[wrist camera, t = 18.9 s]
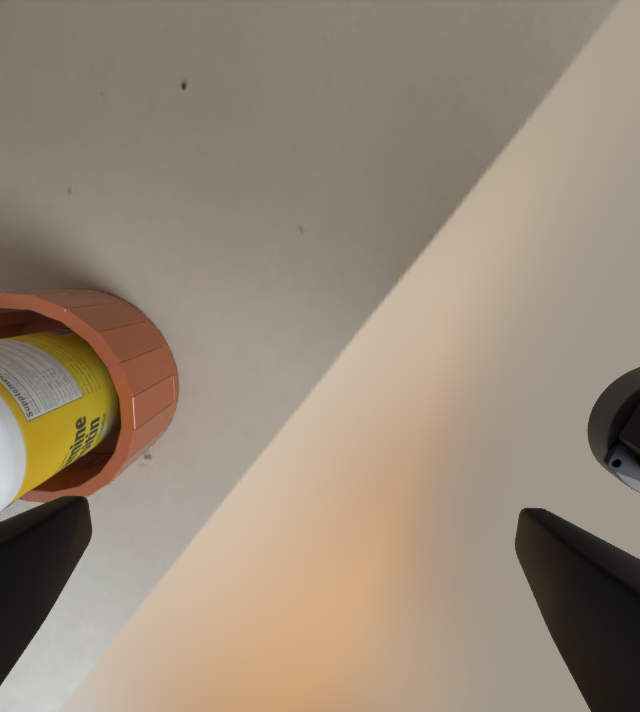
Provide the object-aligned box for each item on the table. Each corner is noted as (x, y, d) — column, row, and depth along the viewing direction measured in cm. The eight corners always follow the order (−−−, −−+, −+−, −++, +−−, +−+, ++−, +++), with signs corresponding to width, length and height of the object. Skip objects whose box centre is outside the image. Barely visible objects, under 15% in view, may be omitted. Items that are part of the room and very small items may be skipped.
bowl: (200, 329, 20) (159, 344, 16) (154, 482, 23) (106, 533, 18) (26, 261, 20) (-64, 257, 16) (-3, 422, 22) (-88, 458, 18)
